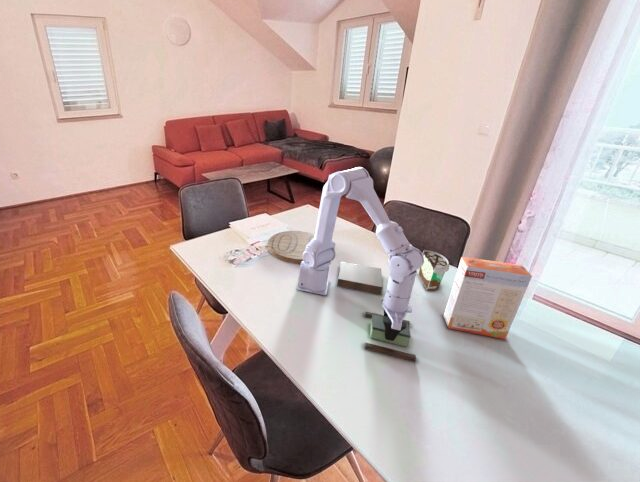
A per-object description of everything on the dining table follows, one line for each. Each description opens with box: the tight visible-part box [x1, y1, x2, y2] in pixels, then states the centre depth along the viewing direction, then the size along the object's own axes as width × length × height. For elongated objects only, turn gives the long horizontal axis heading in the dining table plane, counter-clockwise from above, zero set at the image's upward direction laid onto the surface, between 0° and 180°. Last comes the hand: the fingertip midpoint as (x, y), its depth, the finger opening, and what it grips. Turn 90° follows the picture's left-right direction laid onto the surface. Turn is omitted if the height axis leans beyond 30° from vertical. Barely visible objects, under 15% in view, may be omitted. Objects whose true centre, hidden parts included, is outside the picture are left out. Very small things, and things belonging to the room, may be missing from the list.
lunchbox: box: [369, 315, 411, 347], centre depth 86 cm, size 9×5×4 cm, turn 70°
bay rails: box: [364, 311, 417, 362], centre depth 87 cm, size 12×14×1 cm
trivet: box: [267, 230, 315, 265], centre depth 132 cm, size 25×25×2 cm
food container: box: [417, 249, 450, 291], centre depth 107 cm, size 12×6×10 cm, turn 168°
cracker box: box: [443, 256, 533, 340], centre depth 86 cm, size 14×6×21 cm, turn 71°
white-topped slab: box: [337, 260, 383, 295], centre depth 110 cm, size 14×12×3 cm
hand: (388, 332), depth 86 cm, fingers closed on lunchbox, 5 cm apart
